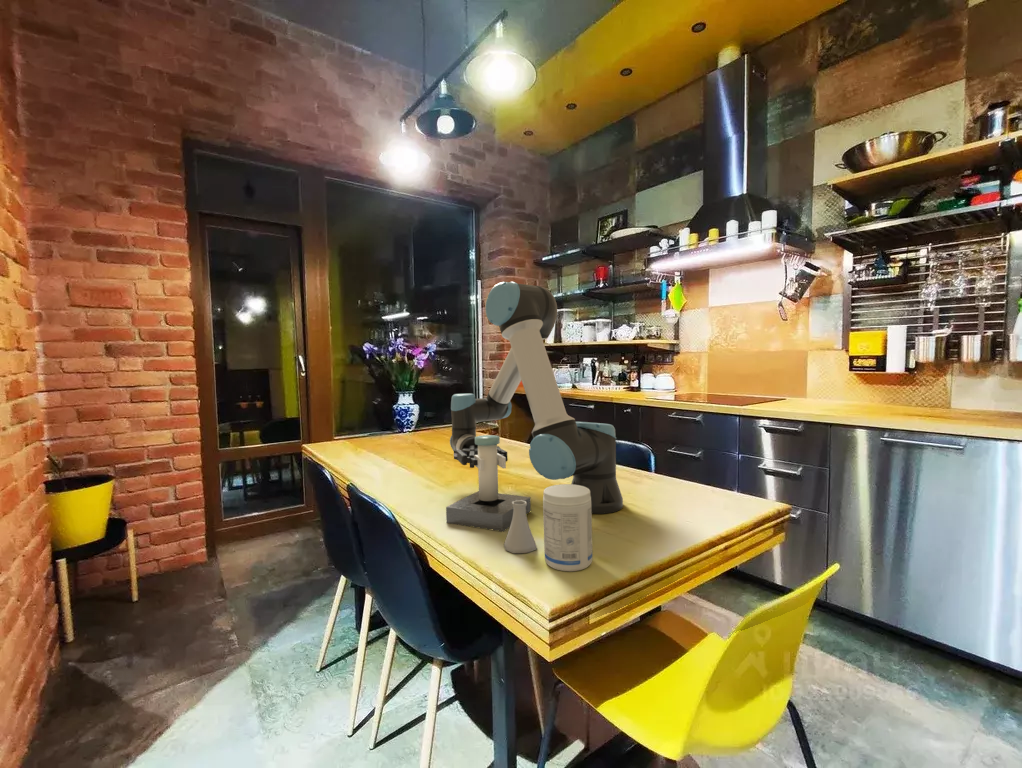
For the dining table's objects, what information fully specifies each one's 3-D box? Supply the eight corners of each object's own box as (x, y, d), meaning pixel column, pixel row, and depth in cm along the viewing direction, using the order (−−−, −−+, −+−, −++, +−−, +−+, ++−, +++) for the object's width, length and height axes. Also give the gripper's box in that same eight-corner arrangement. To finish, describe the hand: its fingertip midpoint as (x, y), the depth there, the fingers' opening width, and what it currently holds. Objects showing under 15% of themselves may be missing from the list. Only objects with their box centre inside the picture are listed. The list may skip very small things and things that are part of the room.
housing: (530, 512, 127) (530, 497, 127) (502, 531, 113) (502, 515, 113) (478, 504, 134) (478, 490, 134) (446, 522, 120) (446, 506, 120)
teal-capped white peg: (505, 496, 125) (503, 435, 125) (493, 503, 120) (491, 439, 119) (484, 493, 128) (482, 434, 127) (471, 500, 122) (470, 438, 122)
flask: (511, 557, 98) (510, 509, 98) (498, 545, 105) (497, 500, 104) (543, 550, 101) (542, 504, 101) (528, 539, 108) (527, 495, 107)
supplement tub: (567, 549, 102) (566, 481, 101) (602, 563, 94) (601, 489, 94) (534, 562, 95) (532, 489, 95) (568, 578, 88) (567, 499, 87)
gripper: (500, 458, 143) (527, 475, 121) (441, 464, 138) (458, 482, 116) (500, 433, 143) (527, 446, 121) (440, 438, 137) (457, 451, 115)
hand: (493, 463), depth 118 cm, fingers closed on teal-capped white peg, 5 cm apart
